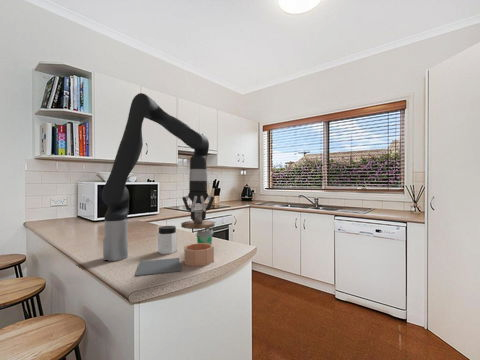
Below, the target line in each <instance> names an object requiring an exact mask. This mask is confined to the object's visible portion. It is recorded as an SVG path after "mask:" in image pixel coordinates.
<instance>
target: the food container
mask: <svg viewBox="0 0 480 360" xmlns="http://www.w3.org/2000/svg"><path fill="white" fill-rule="evenodd" d="M213 234H214V230H213V227H210V228H204V229H203V230H202V229H201V231H196V237H197V238H196V239H197V240H196V242H197V243H206V244H212V245H213V242H212V241H213ZM197 243H196V244H197Z"/></svg>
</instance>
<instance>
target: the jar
mask: <svg viewBox="0 0 480 360" xmlns="http://www.w3.org/2000/svg"><path fill="white" fill-rule="evenodd" d="M177 251H178V232H177V227H176V226H175V225H164V226H159V227H158V233H157V253H159V254H161V255H169V254H173V253H175V252H177Z"/></svg>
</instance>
